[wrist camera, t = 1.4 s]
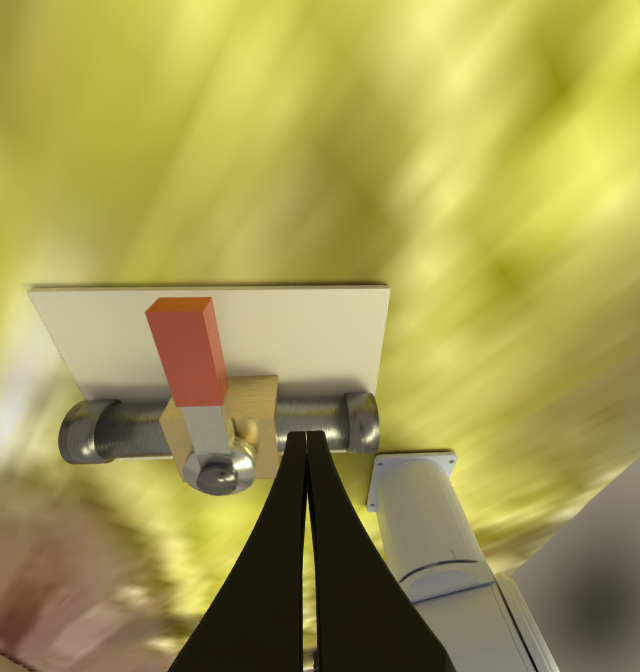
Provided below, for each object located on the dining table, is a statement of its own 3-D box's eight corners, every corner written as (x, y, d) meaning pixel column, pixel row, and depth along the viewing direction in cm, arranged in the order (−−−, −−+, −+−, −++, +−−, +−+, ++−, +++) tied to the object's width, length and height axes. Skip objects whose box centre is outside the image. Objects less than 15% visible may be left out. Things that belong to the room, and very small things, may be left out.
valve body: (362, 425, 26) (373, 474, 22) (117, 433, 25) (82, 486, 21) (370, 368, 23) (384, 413, 19) (87, 374, 22) (39, 424, 18)
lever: (260, 473, 21) (256, 502, 19) (197, 476, 21) (187, 505, 19) (233, 296, 14) (223, 317, 12) (137, 297, 14) (113, 318, 12)
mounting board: (365, 446, 28) (366, 451, 27) (122, 454, 27) (118, 460, 26) (388, 285, 19) (390, 288, 19) (34, 287, 18) (26, 291, 18)
